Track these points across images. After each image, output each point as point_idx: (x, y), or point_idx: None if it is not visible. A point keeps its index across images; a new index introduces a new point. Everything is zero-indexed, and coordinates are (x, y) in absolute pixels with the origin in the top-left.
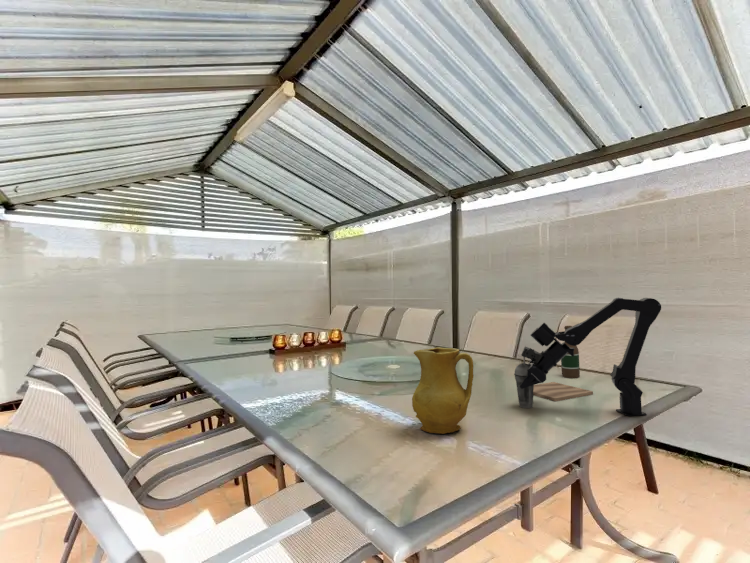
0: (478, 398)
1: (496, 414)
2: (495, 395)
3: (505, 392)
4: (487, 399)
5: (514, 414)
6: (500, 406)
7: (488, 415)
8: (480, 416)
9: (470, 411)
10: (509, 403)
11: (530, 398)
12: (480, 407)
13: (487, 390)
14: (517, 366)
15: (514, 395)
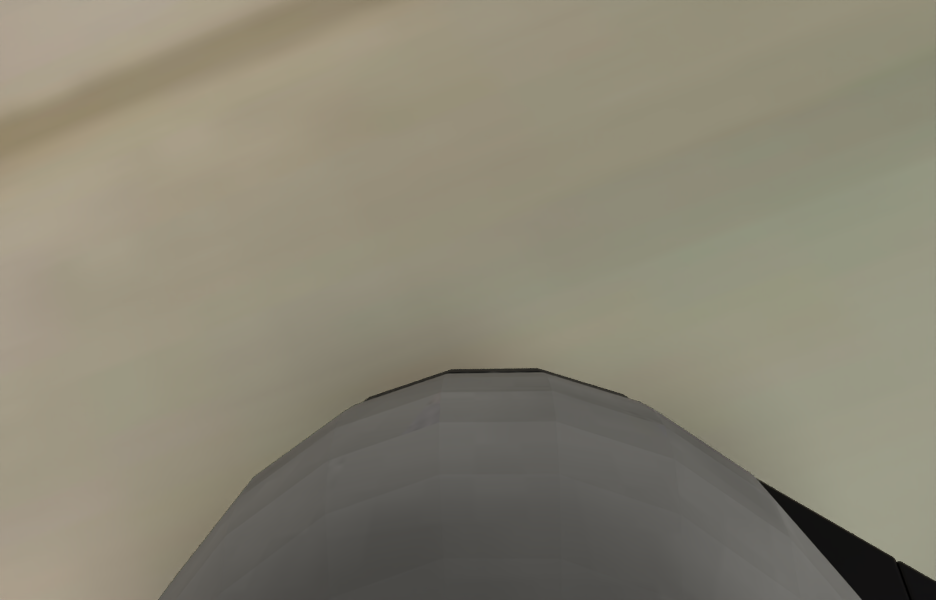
0: (534, 67)
1: (122, 368)
2: (717, 138)
3: (889, 170)
4: (544, 134)
5: (172, 514)
6: (379, 308)
7: (74, 321)
8: (30, 278)
9: (140, 164)
10: (519, 342)
11: None
12: (278, 182)
13: (838, 22)
14: (295, 545)
15: (840, 282)
